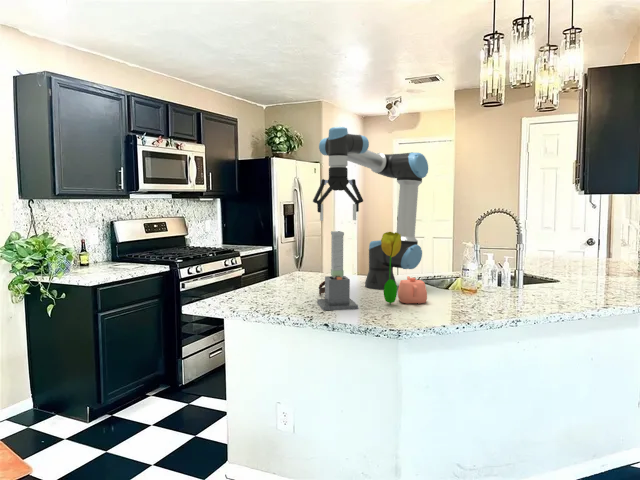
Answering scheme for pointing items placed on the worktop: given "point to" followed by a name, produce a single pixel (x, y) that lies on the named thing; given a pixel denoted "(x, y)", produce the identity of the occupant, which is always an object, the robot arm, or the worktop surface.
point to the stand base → (337, 295)
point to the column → (337, 254)
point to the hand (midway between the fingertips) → (338, 220)
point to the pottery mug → (322, 290)
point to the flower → (390, 248)
